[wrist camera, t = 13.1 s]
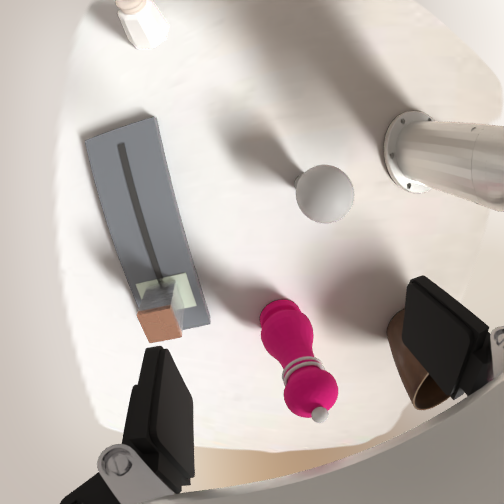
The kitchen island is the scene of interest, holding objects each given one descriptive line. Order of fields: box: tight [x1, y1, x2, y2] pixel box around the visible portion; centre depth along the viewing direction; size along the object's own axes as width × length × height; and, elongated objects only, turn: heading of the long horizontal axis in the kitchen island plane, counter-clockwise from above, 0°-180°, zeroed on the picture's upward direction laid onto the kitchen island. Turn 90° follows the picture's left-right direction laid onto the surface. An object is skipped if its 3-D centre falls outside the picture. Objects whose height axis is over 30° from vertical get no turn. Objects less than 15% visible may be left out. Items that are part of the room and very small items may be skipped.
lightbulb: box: [295, 165, 354, 223], centre depth 32 cm, size 6×6×11 cm
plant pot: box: [387, 309, 451, 410], centre depth 42 cm, size 15×15×16 cm
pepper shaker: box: [115, 0, 170, 49], centre depth 22 cm, size 5×5×11 cm
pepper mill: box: [260, 300, 338, 423], centre depth 35 cm, size 7×7×20 cm
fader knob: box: [137, 280, 185, 343], centre depth 34 cm, size 4×4×7 cm
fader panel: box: [85, 117, 210, 330], centre depth 35 cm, size 9×28×2 cm, turn 11°
